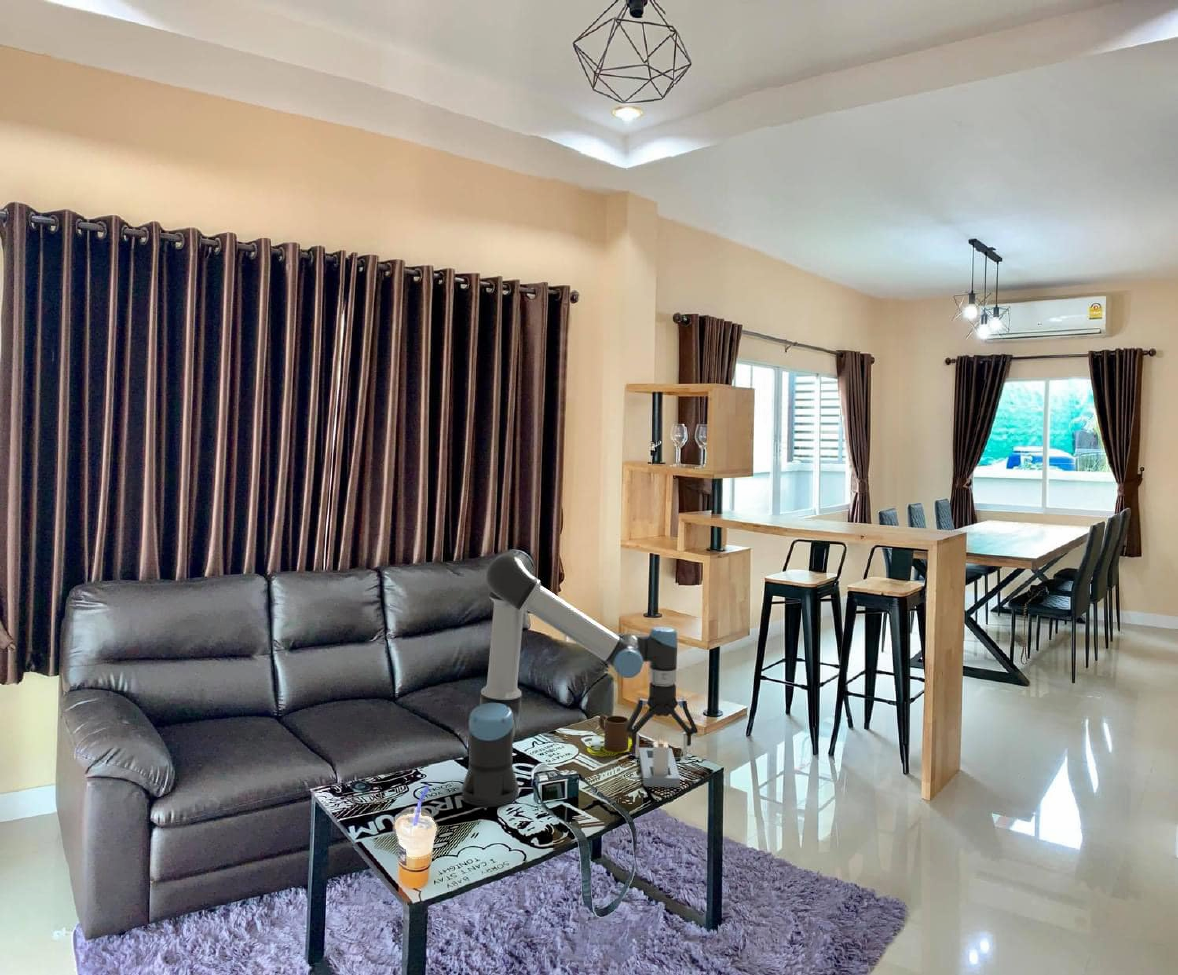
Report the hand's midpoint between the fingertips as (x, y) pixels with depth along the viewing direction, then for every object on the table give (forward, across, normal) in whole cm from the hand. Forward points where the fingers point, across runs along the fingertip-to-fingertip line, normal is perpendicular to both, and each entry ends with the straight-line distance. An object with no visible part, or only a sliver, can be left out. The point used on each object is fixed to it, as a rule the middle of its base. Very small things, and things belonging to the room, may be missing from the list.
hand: (660, 756), depth 229 cm
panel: (+7, 0, +6) cm, 9 cm away
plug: (+7, 0, 0) cm, 7 cm away
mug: (+7, -13, +25) cm, 29 cm away
